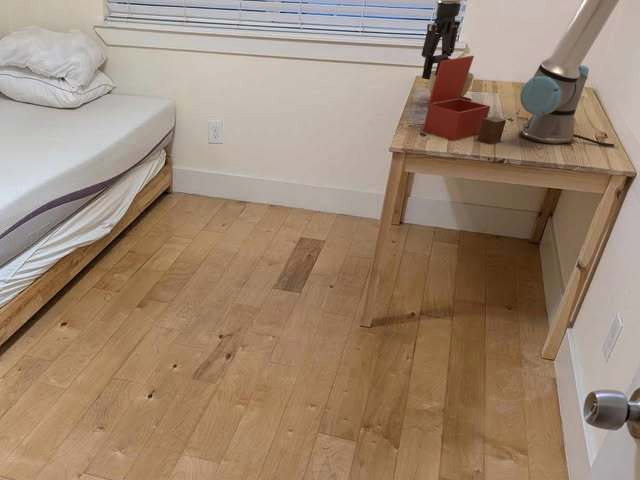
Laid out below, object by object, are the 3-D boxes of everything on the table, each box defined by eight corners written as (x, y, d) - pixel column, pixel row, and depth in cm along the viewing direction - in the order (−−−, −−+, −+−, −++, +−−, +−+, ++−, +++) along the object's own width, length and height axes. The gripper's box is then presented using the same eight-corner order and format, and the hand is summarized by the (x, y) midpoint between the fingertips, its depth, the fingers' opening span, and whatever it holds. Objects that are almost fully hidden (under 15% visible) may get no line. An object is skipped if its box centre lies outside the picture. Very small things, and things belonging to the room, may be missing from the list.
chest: (483, 132, 231) (490, 106, 226) (453, 140, 225) (460, 112, 220) (452, 124, 240) (458, 98, 235) (422, 130, 233) (428, 104, 228)
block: (500, 141, 223) (506, 119, 219) (490, 144, 221) (496, 122, 217) (486, 137, 227) (492, 116, 223) (477, 140, 225) (483, 118, 221)
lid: (474, 56, 226) (453, 49, 231) (443, 61, 219) (422, 53, 224) (460, 97, 235) (441, 89, 240) (429, 103, 228) (410, 95, 233)
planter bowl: (469, 101, 266) (476, 71, 260) (463, 110, 254) (471, 80, 248) (426, 96, 272) (433, 67, 266) (419, 105, 261) (425, 75, 254)
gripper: (458, -2, 226) (441, 72, 240) (419, 2, 218) (404, 78, 231) (477, 1, 221) (459, 76, 234) (438, 5, 213) (422, 83, 226)
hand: (432, 77), depth 233 cm, fingers closed on lid, 6 cm apart
